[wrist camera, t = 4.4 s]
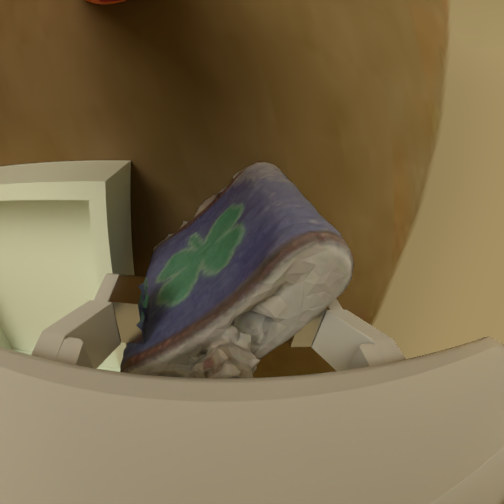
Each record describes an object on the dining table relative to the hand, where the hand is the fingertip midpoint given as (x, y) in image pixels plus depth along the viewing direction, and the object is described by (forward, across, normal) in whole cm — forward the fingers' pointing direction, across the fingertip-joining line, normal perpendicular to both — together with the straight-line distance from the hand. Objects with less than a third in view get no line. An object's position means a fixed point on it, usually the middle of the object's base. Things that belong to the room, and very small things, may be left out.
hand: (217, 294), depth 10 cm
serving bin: (+6, +12, +5) cm, 14 cm away
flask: (+6, 0, 0) cm, 6 cm away
